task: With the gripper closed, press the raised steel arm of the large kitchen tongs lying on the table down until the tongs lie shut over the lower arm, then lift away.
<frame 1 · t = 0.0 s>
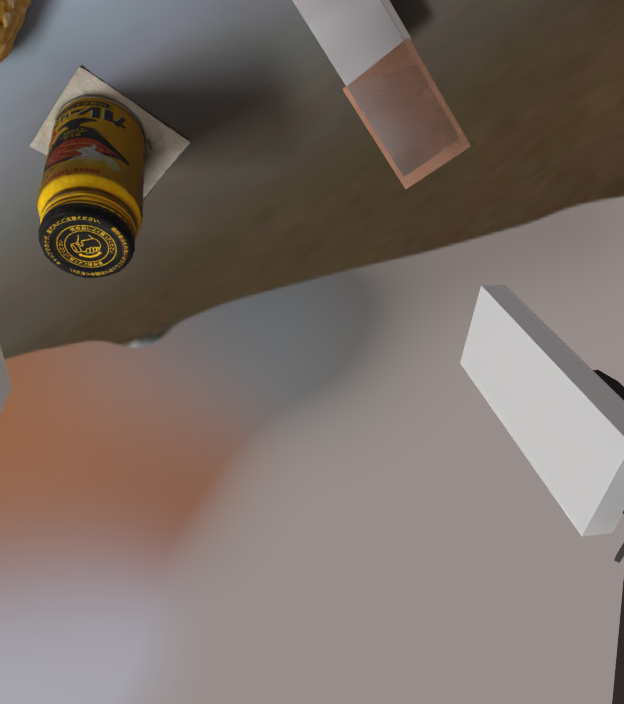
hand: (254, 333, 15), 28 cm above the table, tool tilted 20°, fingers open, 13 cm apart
condiment: (111, 140, 40), on the table
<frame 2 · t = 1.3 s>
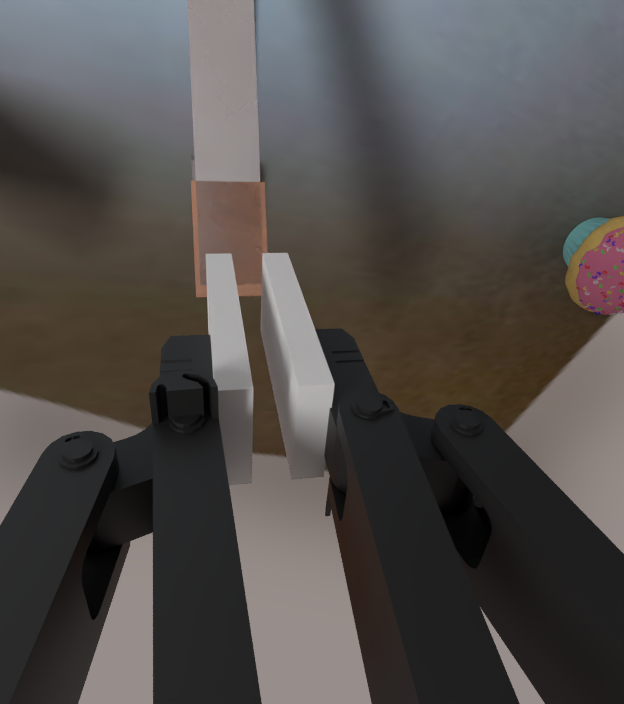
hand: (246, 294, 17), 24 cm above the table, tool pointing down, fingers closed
cupcake: (587, 243, 48), on the table
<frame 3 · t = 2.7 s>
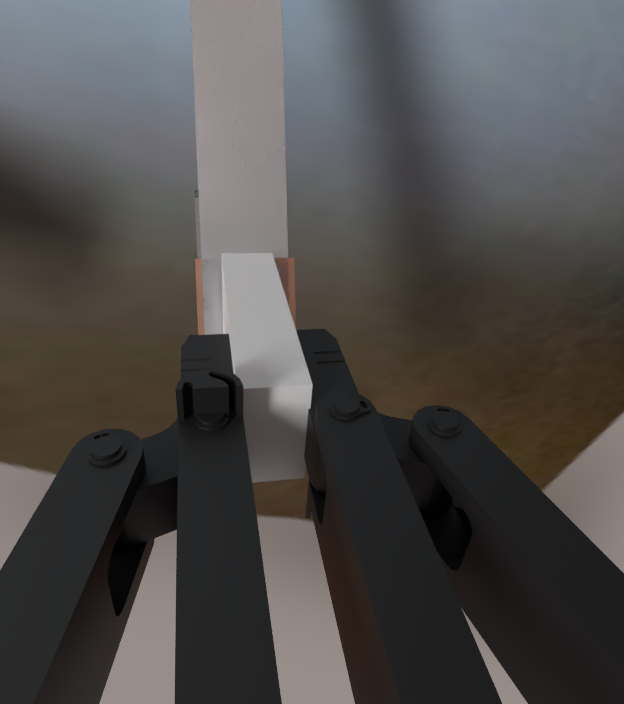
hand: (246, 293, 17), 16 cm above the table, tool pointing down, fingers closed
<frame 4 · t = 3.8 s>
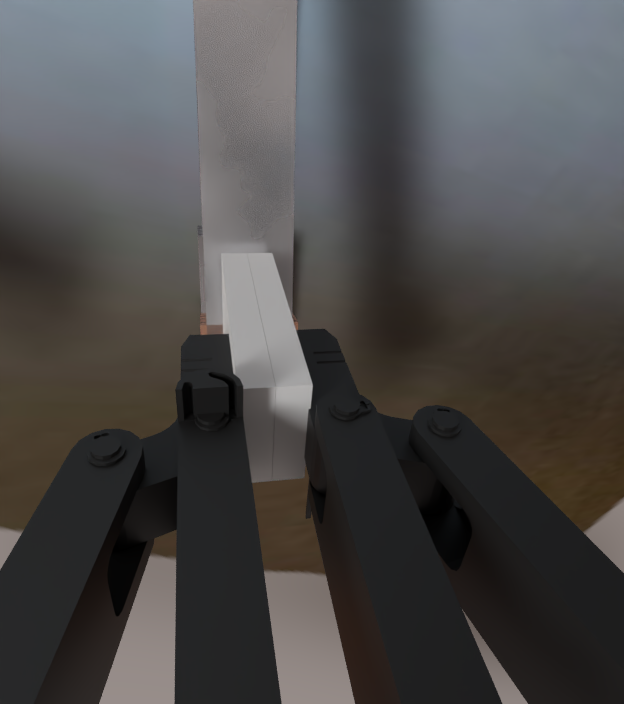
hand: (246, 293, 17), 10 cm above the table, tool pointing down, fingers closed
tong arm: (244, 28, 16), point 7 cm above the table, hinge at 14.8°, touching gripper
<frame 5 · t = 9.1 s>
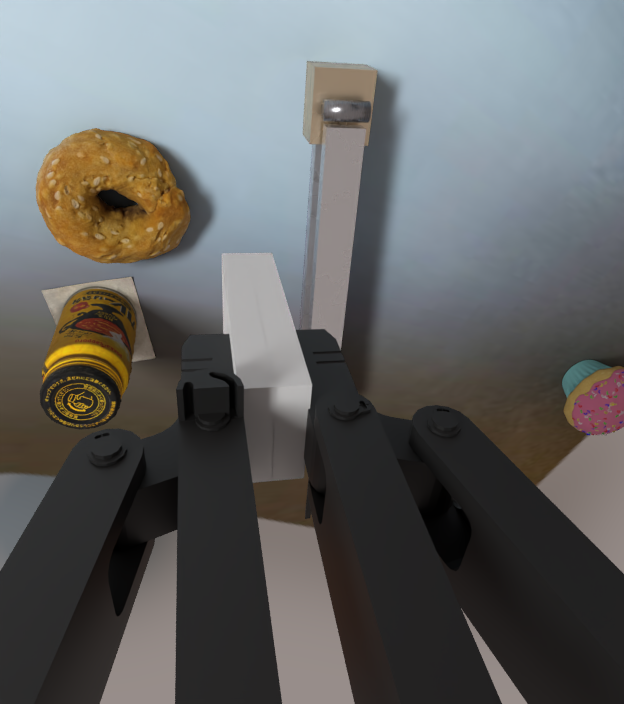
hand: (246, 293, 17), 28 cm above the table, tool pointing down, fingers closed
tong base: (320, 249, 48), on the table
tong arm: (329, 280, 45), point 4 cm above the table, hinge at 1.4°
bagel: (120, 194, 43), on the table
condiment: (102, 323, 48), on the table
cupcake: (580, 375, 63), on the table
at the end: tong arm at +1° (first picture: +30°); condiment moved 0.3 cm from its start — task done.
